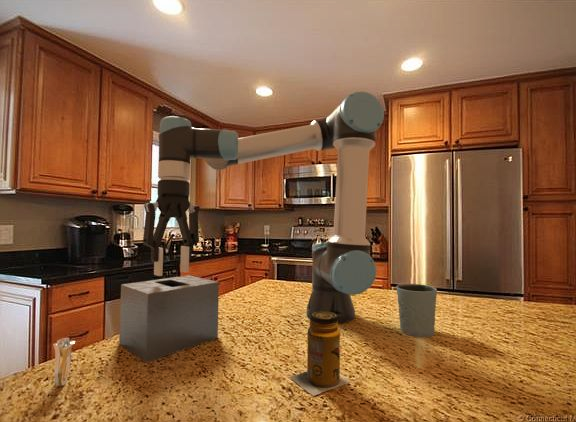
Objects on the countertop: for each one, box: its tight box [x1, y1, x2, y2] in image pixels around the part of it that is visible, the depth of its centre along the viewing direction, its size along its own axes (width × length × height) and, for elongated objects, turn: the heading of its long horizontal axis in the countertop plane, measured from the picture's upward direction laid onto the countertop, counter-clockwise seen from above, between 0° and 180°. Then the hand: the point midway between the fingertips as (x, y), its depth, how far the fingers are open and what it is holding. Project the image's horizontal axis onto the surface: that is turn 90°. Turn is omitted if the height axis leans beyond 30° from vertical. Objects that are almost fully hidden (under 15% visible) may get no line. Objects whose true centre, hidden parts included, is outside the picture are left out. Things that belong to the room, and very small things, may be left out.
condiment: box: [289, 311, 350, 397], centre depth 56 cm, size 7×8×12 cm
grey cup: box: [396, 283, 438, 338], centre depth 83 cm, size 10×10×12 cm
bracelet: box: [53, 337, 76, 387], centre depth 54 cm, size 7×3×8 cm, turn 22°
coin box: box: [118, 274, 220, 363], centre depth 74 cm, size 14×18×14 cm
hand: (171, 273), depth 75 cm, fingers open, 6 cm apart
